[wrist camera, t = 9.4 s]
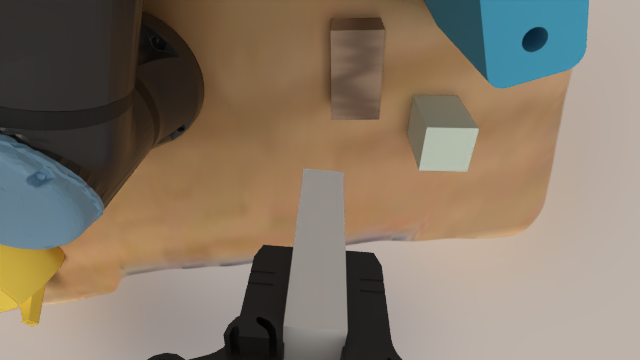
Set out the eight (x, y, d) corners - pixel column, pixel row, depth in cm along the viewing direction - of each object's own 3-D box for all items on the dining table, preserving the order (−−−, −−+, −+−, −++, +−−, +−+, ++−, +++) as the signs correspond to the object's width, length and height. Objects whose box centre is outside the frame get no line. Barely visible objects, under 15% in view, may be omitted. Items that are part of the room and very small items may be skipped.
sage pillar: (407, 133, 45) (418, 170, 39) (413, 94, 42) (426, 127, 36) (448, 134, 45) (467, 171, 39) (457, 95, 42) (479, 128, 36)
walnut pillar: (331, 120, 39) (330, 30, 34) (332, 101, 43) (331, 18, 38) (379, 120, 39) (385, 29, 34) (375, 100, 43) (380, 17, 38)
